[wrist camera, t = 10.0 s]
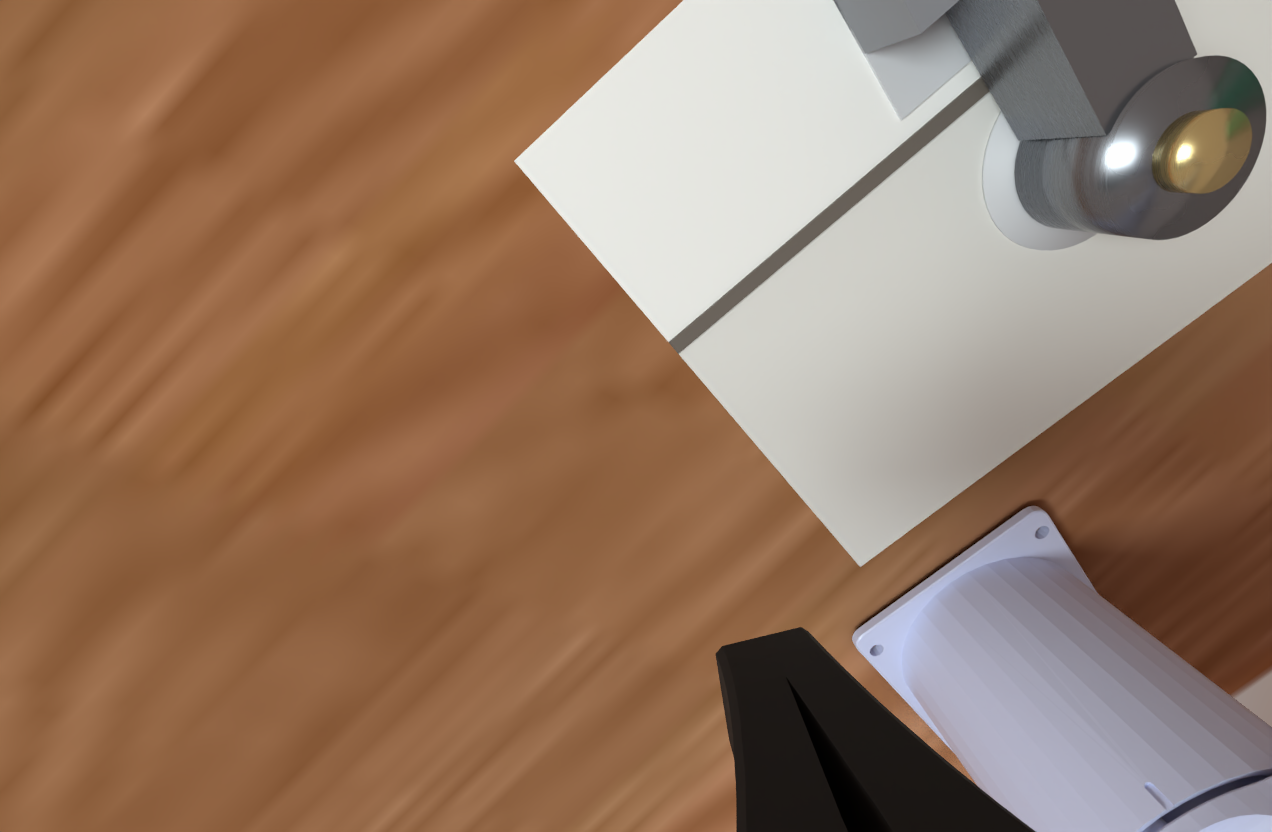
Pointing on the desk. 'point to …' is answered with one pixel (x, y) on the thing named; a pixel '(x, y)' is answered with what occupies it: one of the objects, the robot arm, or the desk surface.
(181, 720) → the desk surface
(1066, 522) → the desk surface
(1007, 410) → the door board
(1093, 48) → the bar
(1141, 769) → the robot arm
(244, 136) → the desk surface
